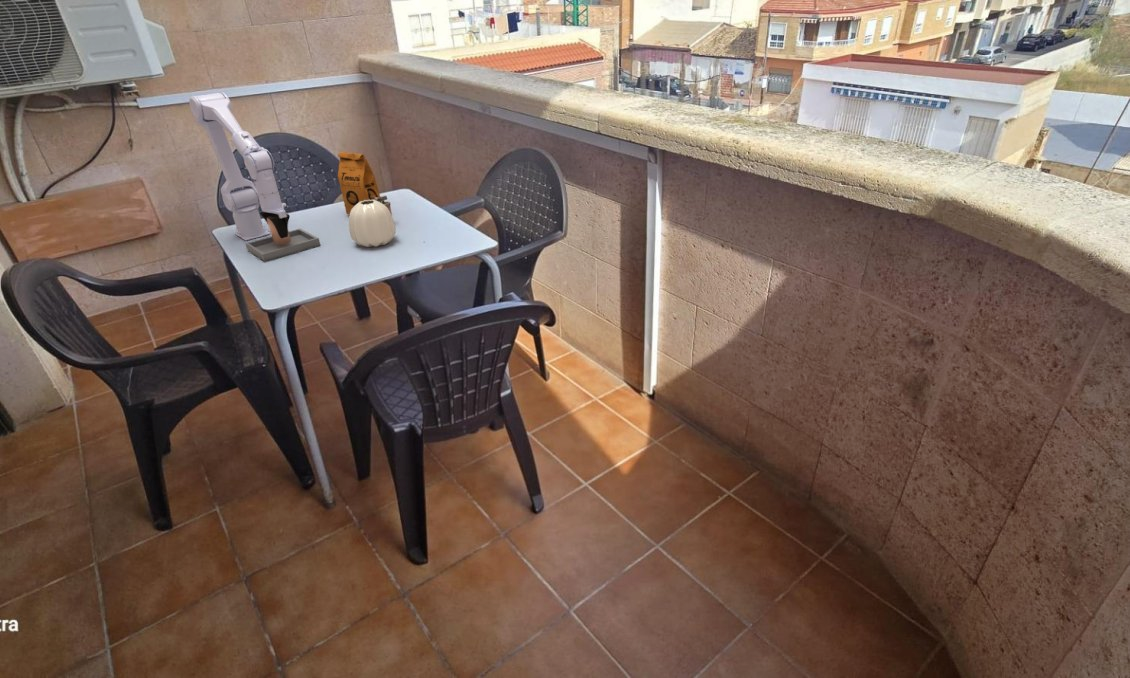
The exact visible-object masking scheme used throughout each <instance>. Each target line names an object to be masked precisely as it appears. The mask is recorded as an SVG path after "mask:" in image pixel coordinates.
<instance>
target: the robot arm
mask: <svg viewBox="0 0 1130 678" xmlns="http://www.w3.org/2000/svg"><path fill="white" fill-rule="evenodd" d="M188 101H189V109H190V111H191V113H192V116H193V118H194V120H195V122H196V124H197V125H198V126H199V127H202V128H203V129H204V130H205V133H206V135H207V138H208V139H209V142H210V144H211V147H212V149H213V151H214V154H215V157H216V159H217V161H218V164H219V166H220V168H221V170H222V173H223V175H224V178H225V181H224V183H223V184H222V186H221V188H220V194H221V196H222V201H223V205H224V206H225V208H226V209H227V210H228V211H229V212H232V219H233V221H234V224H235V226H236V232H235V233H234V235H236V236H238V237H239V238H241V239H243V240H244V241H250V240H253V239H256V238H257V239H258V238H262V237H264V236H267V235H270V234H271V232H269V231H268V230H265V228H264V225H263V221H262V218H263V220H265V223H267V224H266V225H268V222H267V217H268V218H269V219H270V220H271V221H272V223H273V224H274V226H275V228H276V230H277V232H278V234H279V236H280V238H285V237H288V231H289V226H288V225H289V220H290V214H289V213H287V212H286V210H285V207H287V204H286V203H285V202H282V199H281V196H280V192H279V189H278V185H277V182H276V178H275V175H274V169H275V161H274V157H273V156H272V154H271V153H270V151H269V150H268V149H266V148H264V147H262V146H260V145H259V143H258V142H257V141H256V139H254V137H253V135H251V133H250V132H249V131H246V130H243V128H242V127H241V125H240V123H239V122H238V121H237V119H236V117H235V115H234V114H233V106H232V105H233V104H232V102H231V99H230V98H229V96H228V95H227V94H226V93H225V92H223V91H220V92H218V93H216V92H215V93H209V94H208V93H207V94H202V95H191V96H190V97H189V100H188ZM225 131H226V132H227V133H228V134H229V135H230V136H231V143H232V145H233V146H234V147H235V149H236V151H237V152H238V153H239V154H240V155H241V156H242V158H243V161H244V165H245V167H246V170H247V171H248V173H249V176H250V178H251V179H252V180H253V181H251V180H249V179H247V178H245V177H244V176H243V175H242V171H241V169H240V167H239V164H238V162H237V160H236V157H235V154H234V152H233V149H232V147H231V145H230V142H229V139H228V136H227V134H226V132H225ZM259 208H260V209H261V212H260V211H259ZM273 215H275V216H273ZM269 216H272V217H269ZM261 217H262V218H261Z"/></svg>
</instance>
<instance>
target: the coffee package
mask: <svg viewBox="0 0 1130 678" xmlns="http://www.w3.org/2000/svg"><path fill="white" fill-rule="evenodd" d="M337 156H338V158H339V164H338V172H337V180H338V183H339V187H340V193H341V195H342V200H343V204H344V207H345V213H346V215H350V212H351V209H352V208H353V207H354V206H355V205H356V204H357V203H359V202H361V201H364V200H374V198H375V197H377V198H380V197H381V193H380V191H379V187H378V184H377V180H376V177H375V175H374V172H373V169H372V168H371V166H370V164H369V162H368V160H367V159H366V157H365V155H364V153H355V152H344V151H343V152H342V151H339V152H338V154H337Z"/></svg>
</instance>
